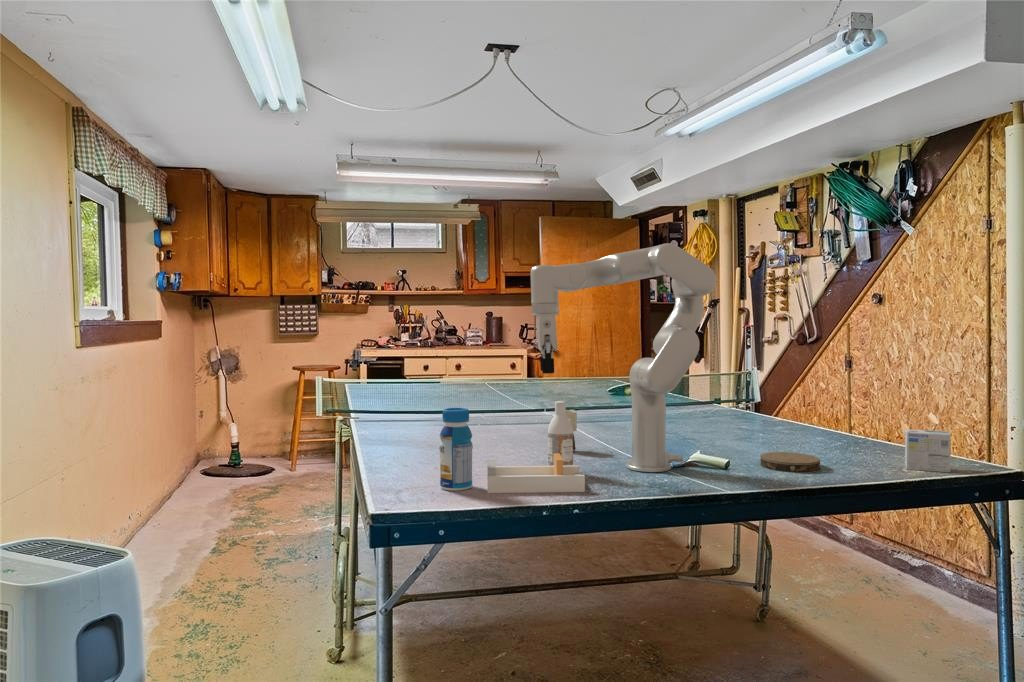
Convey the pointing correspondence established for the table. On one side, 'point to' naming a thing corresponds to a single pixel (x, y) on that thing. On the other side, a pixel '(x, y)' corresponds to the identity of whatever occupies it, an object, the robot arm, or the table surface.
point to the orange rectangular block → (558, 464)
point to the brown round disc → (790, 462)
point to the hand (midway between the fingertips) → (547, 371)
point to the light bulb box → (927, 450)
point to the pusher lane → (533, 479)
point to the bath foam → (560, 436)
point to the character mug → (572, 422)
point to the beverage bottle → (455, 450)
